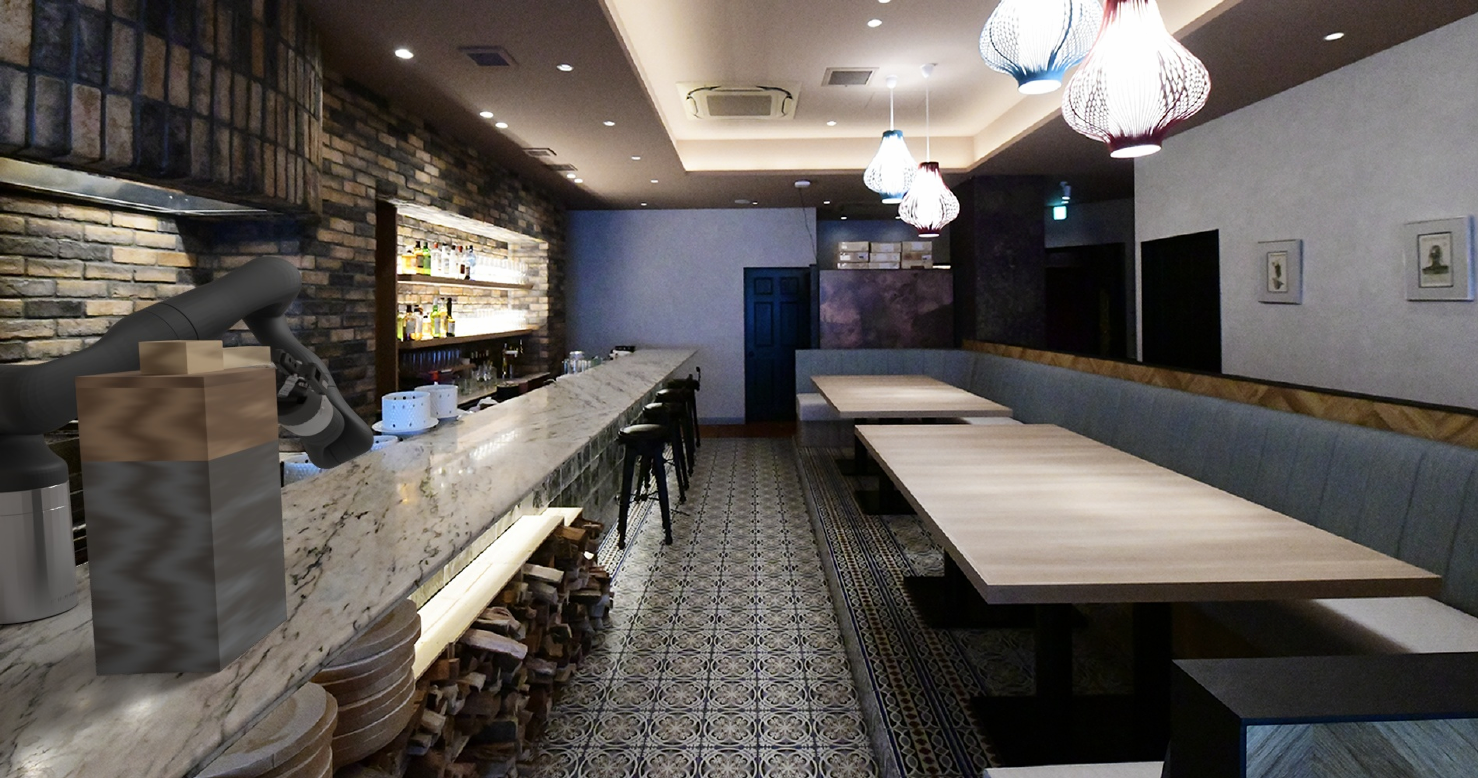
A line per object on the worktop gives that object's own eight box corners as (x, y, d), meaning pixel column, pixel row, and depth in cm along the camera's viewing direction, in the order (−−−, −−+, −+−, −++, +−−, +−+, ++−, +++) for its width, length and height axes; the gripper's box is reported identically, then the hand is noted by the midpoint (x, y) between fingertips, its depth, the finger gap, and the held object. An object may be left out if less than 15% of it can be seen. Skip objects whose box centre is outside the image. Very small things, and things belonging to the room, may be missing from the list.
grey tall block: (96, 675, 84) (74, 376, 81) (182, 621, 99) (167, 367, 96) (220, 671, 85) (203, 376, 82) (287, 618, 100) (275, 367, 97)
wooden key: (140, 374, 85) (138, 342, 85) (240, 363, 105) (239, 337, 105) (187, 374, 86) (185, 342, 86) (278, 363, 106) (277, 337, 105)
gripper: (253, 381, 117) (194, 330, 103) (350, 382, 119) (305, 331, 104) (242, 427, 114) (179, 380, 99) (341, 426, 115) (293, 380, 101)
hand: (243, 355), depth 102 cm, fingers open, 8 cm apart
